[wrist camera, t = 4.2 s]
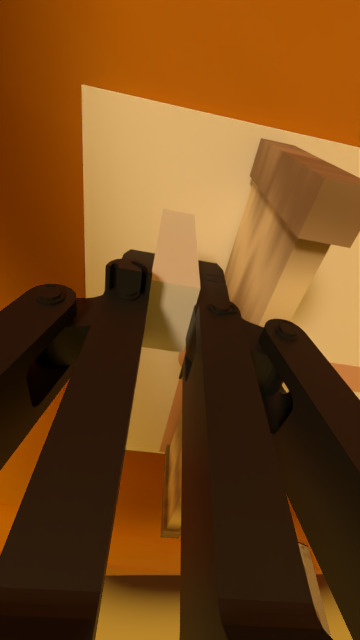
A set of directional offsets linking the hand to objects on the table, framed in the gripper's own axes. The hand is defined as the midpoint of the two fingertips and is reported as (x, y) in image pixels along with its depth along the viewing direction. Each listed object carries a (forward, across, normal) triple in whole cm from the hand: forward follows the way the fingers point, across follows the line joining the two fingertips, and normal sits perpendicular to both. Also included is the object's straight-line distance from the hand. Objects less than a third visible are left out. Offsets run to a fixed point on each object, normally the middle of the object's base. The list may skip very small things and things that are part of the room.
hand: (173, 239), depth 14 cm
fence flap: (+4, +5, -3) cm, 7 cm away
